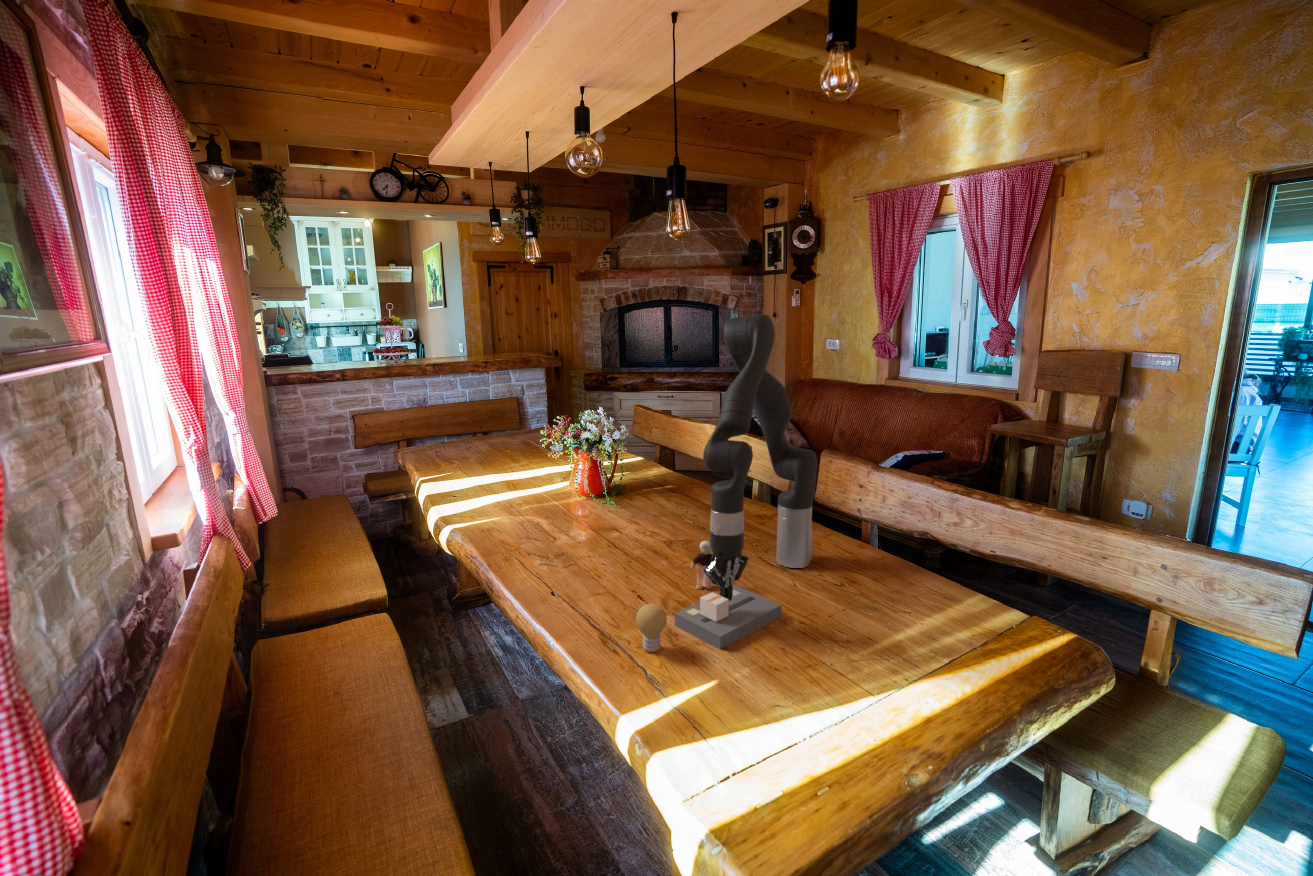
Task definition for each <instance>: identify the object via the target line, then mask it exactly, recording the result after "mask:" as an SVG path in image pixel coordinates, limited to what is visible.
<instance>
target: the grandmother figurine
mask: <svg viewBox="0 0 1313 876" xmlns="http://www.w3.org/2000/svg"><path fill="white" fill-rule="evenodd" d="M699 549H700V552H701V553H699V554H697V555H696V556H695V558H694V559H693V560H692V563H691V565H690V569H692V570H694V569H695V566H696V565H698V566H697V575H696V586H694V587H695V589H696V590H702V589H706V590H712V589H713V583H712V582H711V580H710V579H709V578H708V576H707V575H706V574H705V572H704V568H705V567H707V568H708V567H709V566H710V564H711V563H712V562H711V558H712V555H713V553H711V552H712V549H711V548H710V541H708V540H703V541H701V542H700V544H699Z"/></svg>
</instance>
